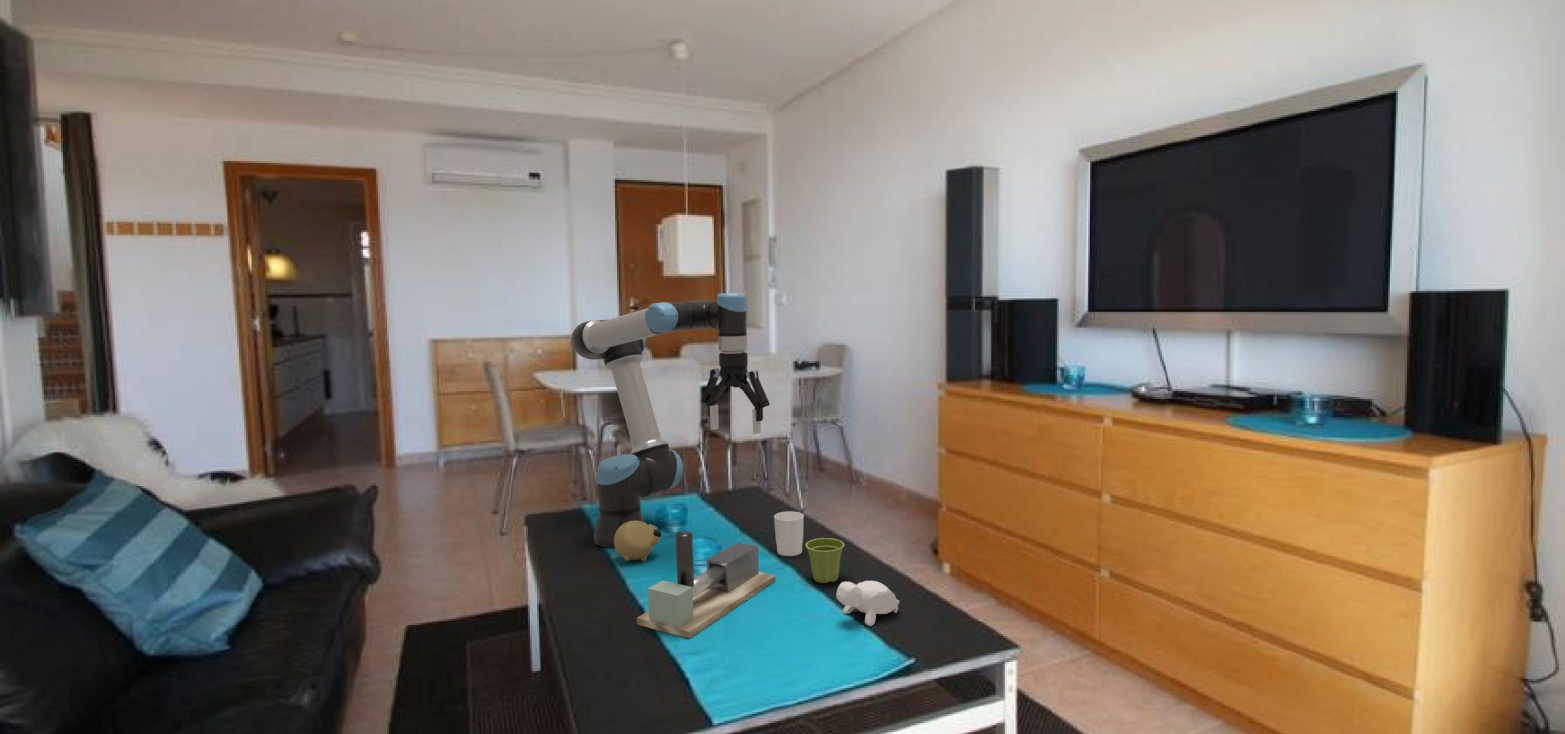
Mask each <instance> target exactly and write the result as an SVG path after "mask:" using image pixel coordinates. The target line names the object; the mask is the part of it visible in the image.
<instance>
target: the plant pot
mask: <svg viewBox="0 0 1565 734" xmlns="http://www.w3.org/2000/svg"><path fill="white" fill-rule="evenodd" d="M805 548H806V549H807V553H808V554H809V559H810V560H809V561H810V565H811V566H810V567H811V572H812V578H813V579H814V581H815V582H817V583H821V584H827V583H829V582H831V583H835V582H836V581H838V579H839V575H840V566H841V556H842V553H843V549H844V548H845V543H844V541H842V540H839V539H836V538H831V537H830V538H827V537H821V538H814V539H811V540H809V541H807V542H806V543H805Z"/></svg>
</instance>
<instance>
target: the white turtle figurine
mask: <svg viewBox="0 0 1565 734" xmlns="http://www.w3.org/2000/svg"><path fill="white" fill-rule="evenodd" d="M835 597H836V599H837V601H839V602H840V603H841V604H842V605H844V608H843V610H842V612H843V614H845V615H849V614H851V613H852V612H853V611H854V610H856V609H857V610H858V611H859V612H861V613H864V614H865V617H864V624H865V625H867V626H868V627H873V625H874V624H875V622H876V619H877V615H883V614H884V615H886V614H888V613H889V614H890V613H891V612H892V611H893V612H894V613H895V614H897V613H898V609H899V604H900V603H901V602H900V600H899V599H897V597H896V594H895V593H894V592H893V591H891V590H890V588H888V587H887V586H886V585H885V584H883V583H881V582H879V581H876V580H864V581H862V582H858V583H857V584H855V583H854V582H851V581H842V582H841V583H840V584H839V586H837V590H836V596H835Z"/></svg>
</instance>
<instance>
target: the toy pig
mask: <svg viewBox="0 0 1565 734" xmlns="http://www.w3.org/2000/svg"><path fill="white" fill-rule="evenodd" d="M644 522H645V521H644ZM644 522H642V521H629V522H626V523H624V524H623V525H621V526H620V527H619V528H618V529H617V531H616V533H615V537H614V545H615V551H616V555H617V556H618V557H622V558H623V559H624V561H626V562H630V560H631V561H632V560H633V561H637V560H638V561H639V560H640V561H641V562H643V563H644V562H646V561H647V558H648V556H649V554H650V553H651V552H652V550H653V548H654V547H655V546H657V545H658V543H659V542H660V540H661V537H662V532H661V531H660V529H658V527H657V526H656V525H654V524H651V523H649V524H647V523H646V522H645V523H644Z"/></svg>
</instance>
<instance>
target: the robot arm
mask: <svg viewBox="0 0 1565 734" xmlns="http://www.w3.org/2000/svg"><path fill="white" fill-rule="evenodd" d="M746 301H747V300H746V295H745V294H744V293H742V292H736V293H735V292H734V293H732V292H729V293H727V292H723V293H718V294H717V297H716V300H690V301H676V302H675V301H673V302H671V301H670V302H666V301H661V302H657V303H656V302H655V303H652V304H650V305H649V306H648V307H647V308H645V309H640V310H636V311H634V312H629V313H626V314H623V315H619V316H617V317H613V318H609V319H597V320H596V319H595V320H594V319H593V320H592V319H591V320H588V321H584V322H582V323H579V324H578V325H577V326H576V327H575V328H574V329H573V331H572V334H571V345H572V346H571V347H572V348H573V350H574V351H575V353H577V355H579V356H580V357H582V358H584V359H586V360H602V361H603V364H604V367H605V368H606V369H607V370H610V371H611V373H612V378H613V380H614V384H615V388H616V390H617V395H618V398H619V402H620V405H621V408H622V412H623V416H624V418H625V419H624V420H625V423H626V426H627V430H628V432H629V436H630V437H629V438H630V440H631V443H632V449H631V451H630V452H629V454H619V455H613V456H610V457H607V458H605V459H603V460H602V461H600V463H599V464H598V466H597V474H596V483H597V493H598V494H597V495H598V518H597V521H596V525H595V530H594V532H593V542H594V544H595V545H597V546H599V547H602V548H612V549H614V548H615V545H614V537H615V533H616V531H617V529H618V528H619V527H620V526H621V525H623V524H624V523H626V522H629V521H642V522H644V523H646V522H645V519H644V516H643V513H642V509H641V507H642V505H641V504H642V503H641V499H642V498H643V499H644V498H647V497H648V496H652V495H653V496H654V495H656V494H660V493H664V492H667V491H669V490H671V489H673V488H676V487H677V486H678V485H679V483H680V482H681V478H682V477H683V472H684V469H683V468H684V466H683V465H684V464H683V461H682V459H681V456H680V454H679V453H677V451H675V449H674V450H673V449H670V447H669V443H668V442H667V441H666V440H664V439H662V437H661V433H660V430H659V426H658V423H657V419H656V416H655V412H654V408H653V405H652V401H651V399H650V396H649V392H648V388H647V384H646V382H645V381H646V380H645V378H644V374H643V371H642V367H641V362H642V360H643V352H645V349H646V344H647V338H652V337H655V336H659V335H663V334H664V335H665V334H668V333H671V332H679V331H691V330H692V331H693V330H702V329H703V330H704V329H706V330H707V329H708V330H709V329H710V330H711V329H713V330H715V329H716V330H717V331H718V332H717V333H718V336H717V337H718V339H717V340H718V351H719V354H718V363H719V364H718V365H719V367H720V369H719V368H712V369H710V371H709V377H708V381H707V384H706V386H705V388H704V392H703V395H702V396H701V399H700V400H701V403H704V404H706V405H707V416H708V418H709V419H710V420H709V423H710V426H709V427H710V431H714V430H718V429H719V428H720V427H719V421H720V420H719V405H718V404H717V401H718V400H719V399H720V398H721V395H723V393H724V392H725V390H726V389H727V388H731V387H732V388H739V389H740V390H742V392H743V393H744V395H745V396H746V398H747V399H748V400H749V401H750V403H751V404H752V406H753V407H754V408H752V435H758V434H761V433H762V421H764V408H766V407H769V406H770V401H769V399H768V397H767V394H766V391H765V389H764V388H763V385H762V383H761V380H760V378H759V372H758V370H751V371H748V363H749V362H748V361H749V358H748V352H747V350H748V332H747V330H748V329H747V318H748V317H747V310H748V308H747V302H746ZM719 378H721V379H720V381H719V383H718V380H719ZM748 380H749V381H748ZM717 383H718V384H717ZM717 385H718V386H717ZM716 386H717V387H716ZM751 386H752V387H751ZM715 388H716V389H715Z"/></svg>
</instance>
